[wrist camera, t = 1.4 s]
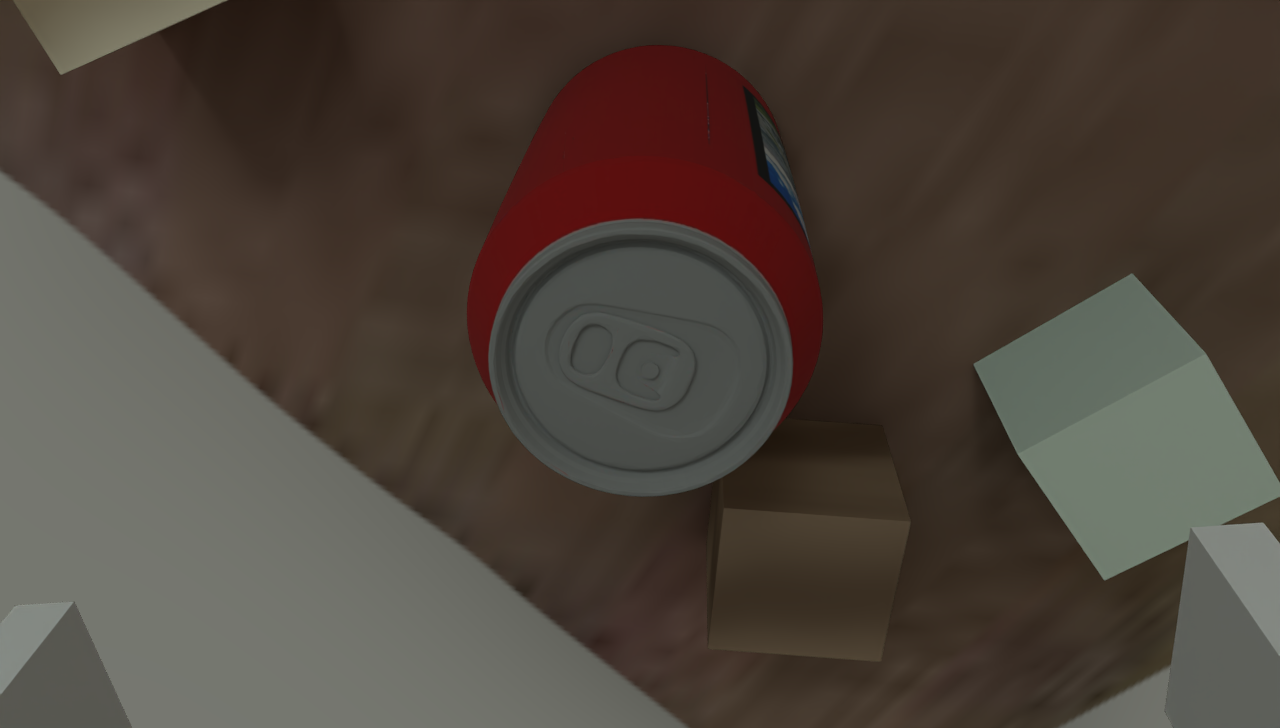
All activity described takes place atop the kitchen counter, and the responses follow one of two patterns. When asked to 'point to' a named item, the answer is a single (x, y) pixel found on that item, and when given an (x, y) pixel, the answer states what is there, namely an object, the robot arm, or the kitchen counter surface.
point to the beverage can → (648, 278)
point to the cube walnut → (807, 544)
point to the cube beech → (100, 25)
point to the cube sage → (1126, 427)
